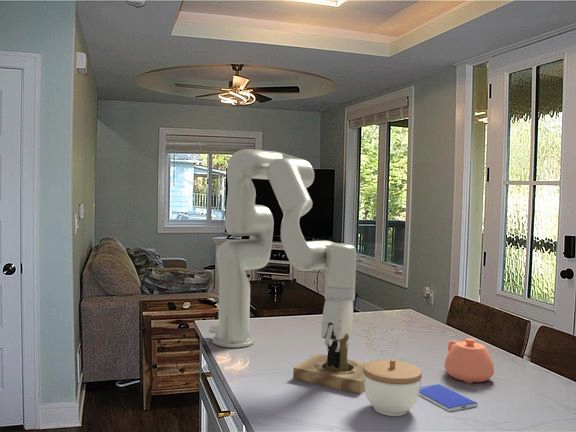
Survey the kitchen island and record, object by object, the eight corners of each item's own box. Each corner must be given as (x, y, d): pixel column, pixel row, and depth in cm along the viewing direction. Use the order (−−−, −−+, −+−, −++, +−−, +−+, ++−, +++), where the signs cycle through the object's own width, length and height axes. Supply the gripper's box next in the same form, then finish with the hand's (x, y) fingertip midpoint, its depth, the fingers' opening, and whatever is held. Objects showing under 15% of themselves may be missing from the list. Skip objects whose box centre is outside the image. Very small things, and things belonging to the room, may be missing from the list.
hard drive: (413, 387, 132) (449, 407, 121) (440, 383, 135) (477, 401, 124) (413, 394, 132) (449, 414, 121) (440, 389, 136) (477, 408, 124)
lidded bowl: (408, 426, 112) (410, 373, 112) (352, 412, 119) (354, 361, 118) (427, 407, 123) (430, 358, 122) (375, 394, 130) (377, 348, 129)
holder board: (293, 379, 138) (293, 367, 138) (317, 364, 150) (317, 353, 150) (360, 393, 130) (360, 381, 129) (380, 377, 142) (380, 365, 142)
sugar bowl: (469, 389, 135) (470, 348, 135) (429, 371, 148) (431, 334, 147) (504, 382, 141) (506, 342, 140) (463, 366, 153) (465, 329, 153)
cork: (350, 370, 142) (352, 328, 142) (345, 377, 136) (347, 333, 136) (328, 367, 144) (329, 325, 144) (322, 374, 138) (323, 331, 138)
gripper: (339, 286, 148) (336, 353, 149) (312, 296, 134) (309, 370, 134) (365, 289, 145) (362, 358, 146) (340, 300, 130) (337, 376, 131)
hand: (337, 363), depth 140 cm, fingers closed on cork, 3 cm apart
